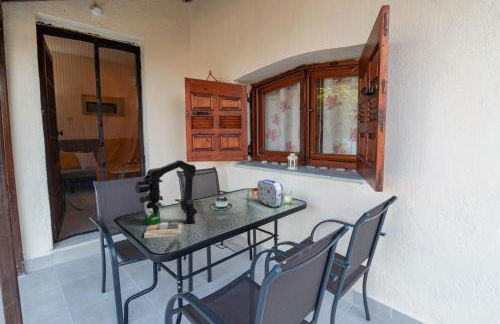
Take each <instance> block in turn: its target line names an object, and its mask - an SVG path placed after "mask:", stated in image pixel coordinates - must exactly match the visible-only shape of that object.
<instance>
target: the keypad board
mask: <svg viewBox="0 0 500 324" xmlns="http://www.w3.org/2000/svg"><path fill="white" fill-rule="evenodd" d="M170 224H171V223H168V229H167V230H160V224H155V225H148V227H147V229H146V230H145V231H144V234H143V235H144V239H149V238H150V239H151V238H164V237H176V236H181V233H182V229H183V223H182V222H181V223H179V222H178V229H171V227H170ZM156 225H158V230H154V231H150V227H151V226H156Z"/></svg>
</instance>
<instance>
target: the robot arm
mask: <svg viewBox="0 0 500 324" xmlns="http://www.w3.org/2000/svg"><path fill="white" fill-rule="evenodd" d="M196 167H197V166H195V165H194V164H189V163H187V162H185V161H183V160H175V161H174V162H171V163H169V164H166V165H164V166H163V165H162V167H156V168H151V169H148V171H147V173H146V175H145V177H144V178H143V180H138V181H136V183H135V186H134V189H135V193H136V194H141V193H147V192H148V194H145V195H143V196H140V197H139V200H138V201H139V203H140V204H144V202H147V201H148V202H149V203H148V204H147V205H146V208H152V209H153V212H154V215H155V216H157V213H158V211H159V208H160V207H161V204H162V202H161V201H163V200H164V197H163V196H162V195H160V193H161V190H160V183H163V180H162V179H161V178H162V177H163V176H164V175H165V174H167V173H169V172H172V171H174V170H176V169H181V170H183V171H182V172H183V175H184V179H185V180H184V196H183V197H184V198H183V200H181V201H180V209H181V210H182V212H183V213H184V214H185V224H186V225H189V224H196V219H195V217H196V215H197V214H198V210H197V209H196V208H195V206H194V201H193V181H194V176H195V175H196V171H197V168H196ZM158 201H159V202H158Z"/></svg>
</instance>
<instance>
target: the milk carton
mask: <svg viewBox="0 0 500 324" xmlns="http://www.w3.org/2000/svg"><path fill="white" fill-rule="evenodd" d="M158 202H159V203H160V201H158ZM148 203H149V202H148V201H147V202H144V203H143V205H144V223H145V225H148V226H150V225H159V224H161V214H160V213H161V211H160V208H159V211H158V213H157V216H155V215H154V212H153V209H152V208H146V205H147V204H148Z"/></svg>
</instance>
